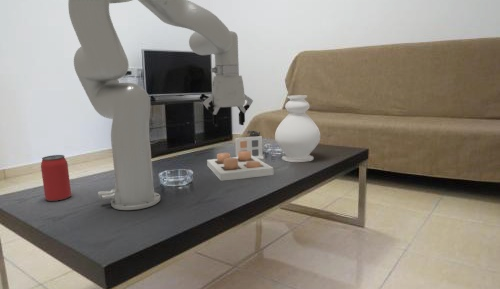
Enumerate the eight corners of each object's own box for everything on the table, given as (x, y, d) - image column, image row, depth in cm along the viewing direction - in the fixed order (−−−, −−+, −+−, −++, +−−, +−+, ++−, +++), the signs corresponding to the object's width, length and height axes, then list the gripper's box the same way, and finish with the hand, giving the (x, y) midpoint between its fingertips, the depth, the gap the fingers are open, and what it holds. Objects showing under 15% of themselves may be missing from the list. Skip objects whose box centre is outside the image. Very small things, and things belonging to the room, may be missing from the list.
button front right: (249, 173, 120) (248, 164, 120) (244, 170, 125) (244, 161, 124) (262, 172, 121) (262, 163, 121) (257, 168, 126) (257, 160, 125)
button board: (221, 181, 114) (220, 173, 113) (207, 166, 134) (207, 159, 134) (273, 174, 119) (273, 167, 119) (252, 161, 140) (252, 155, 139)
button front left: (225, 170, 117) (225, 161, 117) (222, 167, 122) (222, 158, 121) (239, 169, 119) (239, 160, 118) (235, 165, 123) (235, 157, 123)
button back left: (218, 164, 127) (218, 155, 126) (215, 161, 131) (215, 153, 131) (231, 162, 128) (231, 154, 128) (228, 160, 133) (228, 152, 132)
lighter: (264, 153, 155) (264, 130, 153) (260, 154, 152) (260, 131, 150) (248, 151, 159) (248, 129, 157) (244, 153, 156) (244, 130, 154)
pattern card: (237, 161, 140) (236, 139, 138) (234, 159, 144) (234, 137, 142) (263, 159, 143) (263, 137, 142) (260, 157, 147) (260, 135, 145)
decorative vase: (299, 166, 130) (299, 97, 125) (266, 159, 143) (264, 96, 139) (329, 158, 141) (330, 94, 137) (295, 152, 155) (295, 94, 150)
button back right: (240, 161, 129) (240, 153, 129) (236, 159, 134) (236, 151, 133) (252, 160, 131) (252, 152, 130) (248, 158, 135) (248, 150, 134)
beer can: (53, 203, 97) (47, 160, 95) (40, 199, 100) (34, 158, 98) (76, 196, 102) (71, 155, 100) (63, 193, 106) (58, 153, 104)
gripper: (202, 71, 108) (205, 128, 112) (256, 70, 114) (257, 125, 117) (198, 72, 115) (201, 126, 119) (249, 71, 121) (250, 122, 124)
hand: (229, 125), depth 118 cm, fingers open, 7 cm apart
